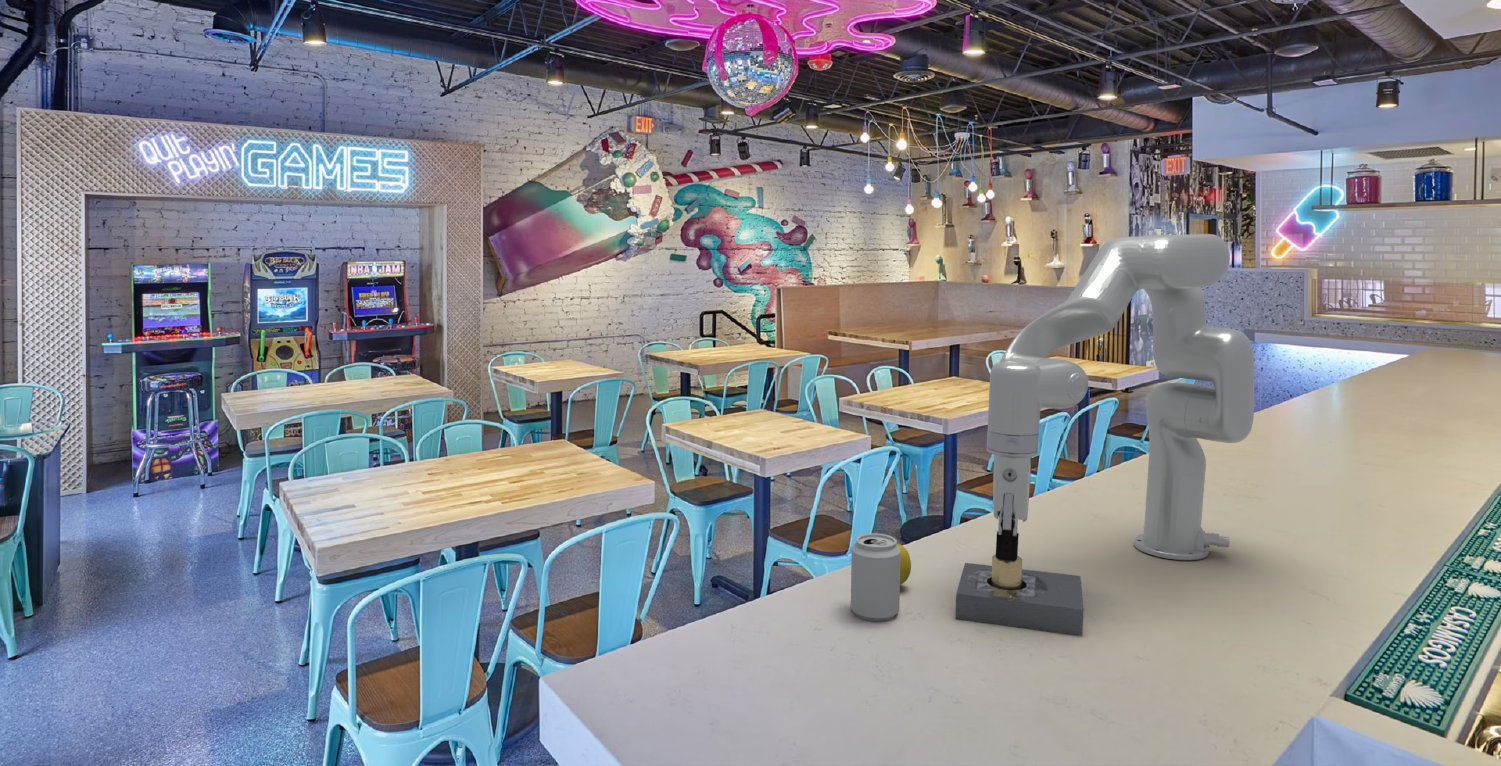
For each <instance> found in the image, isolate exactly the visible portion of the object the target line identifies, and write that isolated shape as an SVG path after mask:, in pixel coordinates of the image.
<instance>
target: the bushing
mask: <svg viewBox="0 0 1501 766" xmlns="http://www.w3.org/2000/svg"><path fill="white" fill-rule="evenodd" d="M991 557H992V558H991V559H992V560H991V566H992V587H995V588H998V589H1002V590H1010V591H1012V590H1021V587H1022V569H1023V558H1022V557H1021V556H1020V555H1017V560H1016V561H1010V560H1002V559H997V558H996V553H995V554H993V555H992V556H991Z"/></svg>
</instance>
